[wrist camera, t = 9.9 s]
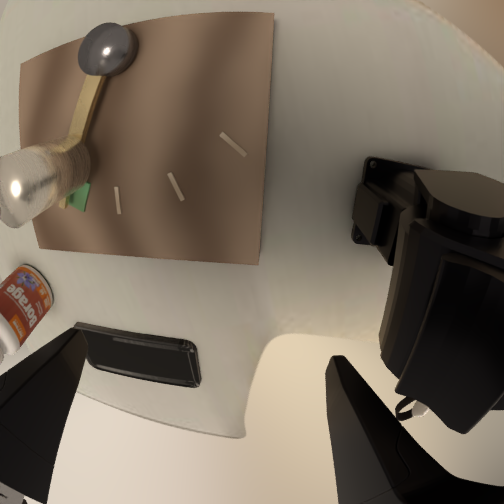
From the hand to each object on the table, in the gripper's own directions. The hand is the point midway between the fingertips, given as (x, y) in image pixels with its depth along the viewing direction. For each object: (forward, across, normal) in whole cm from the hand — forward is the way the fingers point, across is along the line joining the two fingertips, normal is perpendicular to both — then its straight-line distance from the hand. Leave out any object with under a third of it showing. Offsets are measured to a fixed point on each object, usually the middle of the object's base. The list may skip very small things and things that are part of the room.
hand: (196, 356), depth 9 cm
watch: (+13, -27, +26) cm, 40 cm away
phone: (+13, +11, +17) cm, 24 cm away
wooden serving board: (+12, +8, -6) cm, 16 cm away
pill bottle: (+13, +23, +9) cm, 28 cm away
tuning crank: (+11, +10, -8) cm, 16 cm away
